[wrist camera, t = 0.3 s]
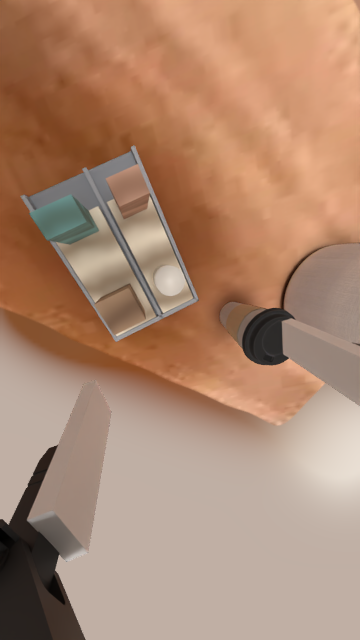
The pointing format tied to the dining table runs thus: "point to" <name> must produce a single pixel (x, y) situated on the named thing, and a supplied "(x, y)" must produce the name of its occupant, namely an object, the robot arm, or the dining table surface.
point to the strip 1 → (90, 249)
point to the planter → (328, 291)
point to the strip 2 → (144, 231)
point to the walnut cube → (121, 309)
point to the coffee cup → (256, 331)
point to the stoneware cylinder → (169, 280)
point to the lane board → (110, 223)
